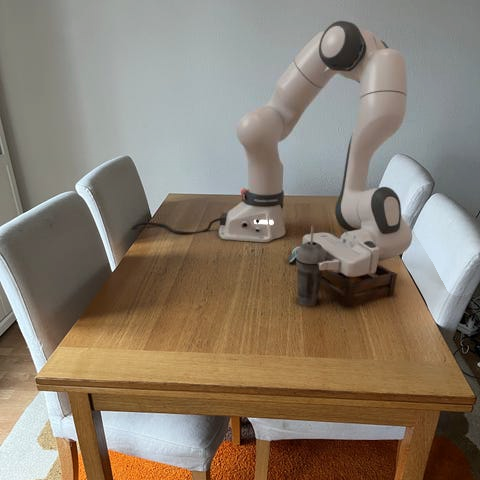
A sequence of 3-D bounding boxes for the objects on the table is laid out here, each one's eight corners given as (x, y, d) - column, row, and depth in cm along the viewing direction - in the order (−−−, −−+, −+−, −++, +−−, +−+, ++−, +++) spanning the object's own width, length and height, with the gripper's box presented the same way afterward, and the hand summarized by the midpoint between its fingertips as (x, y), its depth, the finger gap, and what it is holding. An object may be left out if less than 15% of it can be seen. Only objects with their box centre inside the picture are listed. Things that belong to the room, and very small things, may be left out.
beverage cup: (324, 297, 121) (332, 221, 111) (319, 310, 115) (326, 231, 105) (296, 293, 123) (301, 217, 113) (289, 306, 117) (294, 228, 107)
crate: (347, 308, 116) (350, 286, 113) (313, 284, 127) (315, 263, 124) (393, 295, 121) (397, 274, 118) (357, 273, 133) (359, 253, 130)
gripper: (330, 223, 124) (285, 232, 119) (383, 250, 109) (333, 262, 103) (328, 246, 128) (284, 255, 122) (379, 275, 112) (331, 288, 107)
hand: (307, 258), depth 113 cm, fingers open, 8 cm apart
